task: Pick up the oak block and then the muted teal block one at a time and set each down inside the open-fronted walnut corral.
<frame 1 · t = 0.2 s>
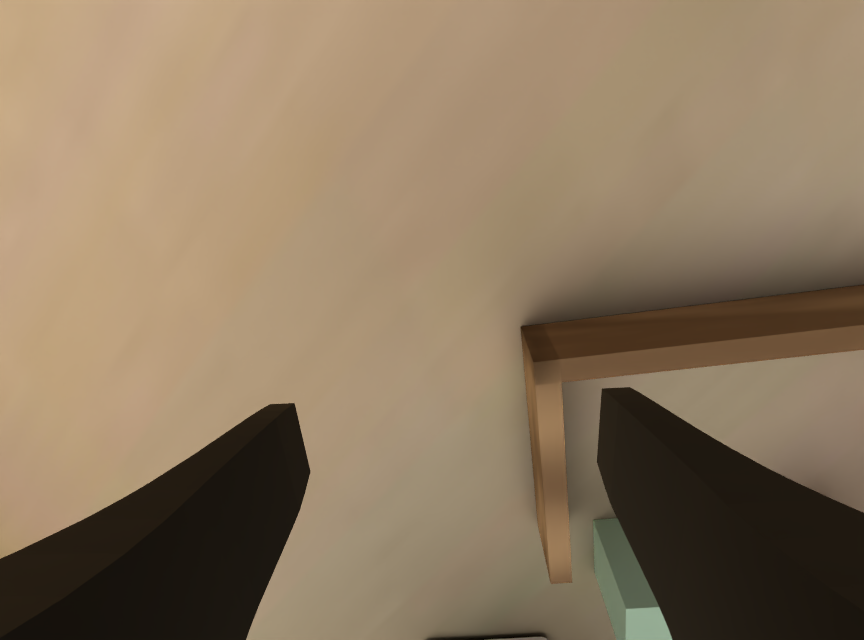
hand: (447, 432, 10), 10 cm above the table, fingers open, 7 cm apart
teal block: (630, 543, 25), on the table
corral: (729, 416, 21), on the table
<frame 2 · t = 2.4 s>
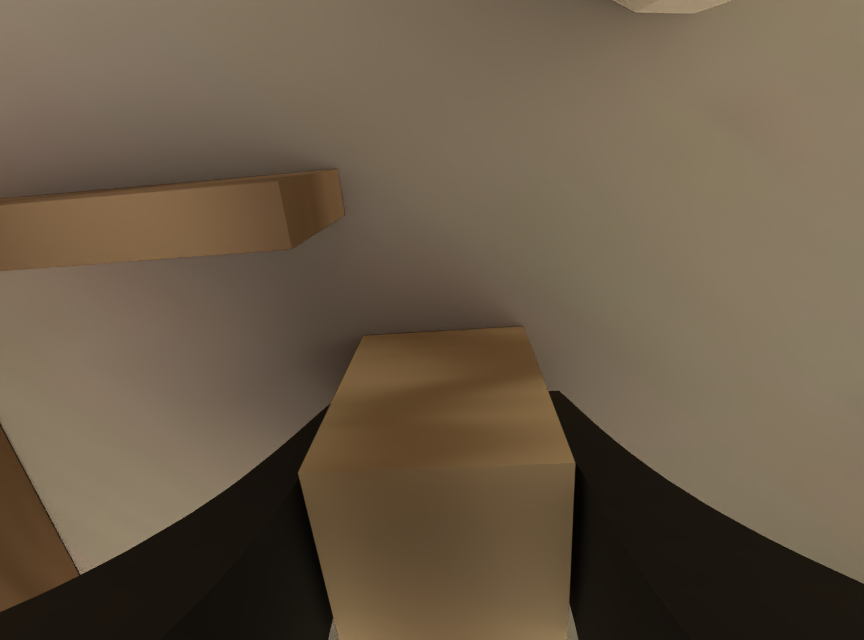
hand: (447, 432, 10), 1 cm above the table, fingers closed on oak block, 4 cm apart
corral: (197, 509, 14), on the table
oak block: (447, 399, 12), on the table, touching gripper
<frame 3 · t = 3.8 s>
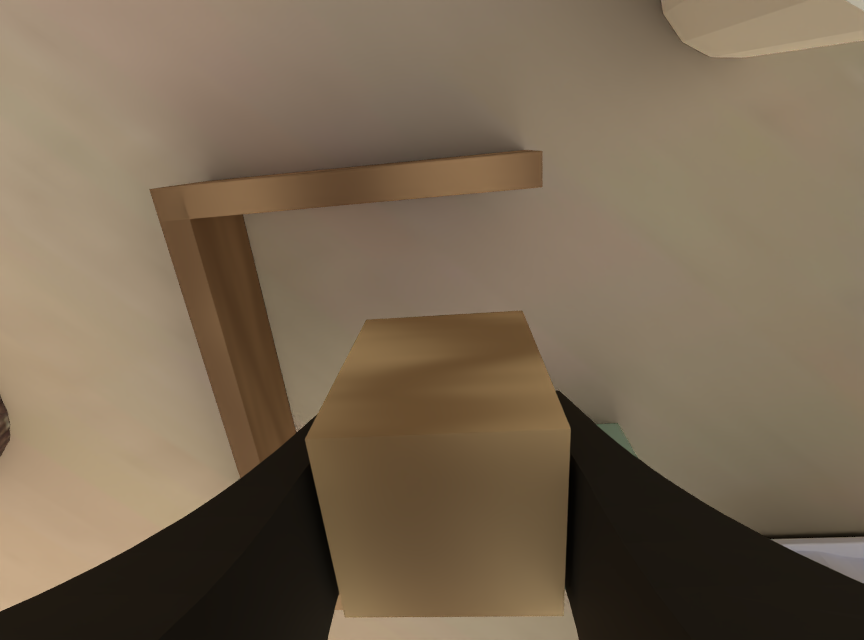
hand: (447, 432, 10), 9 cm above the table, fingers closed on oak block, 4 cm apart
teal block: (571, 460, 21), on the table
corral: (393, 387, 20), on the table
oak block: (448, 383, 12), point 7 cm above the table, touching gripper
when the fingers open (4 cm above the table, at t = 5.2 s): oak block drops 2 cm, on the table.
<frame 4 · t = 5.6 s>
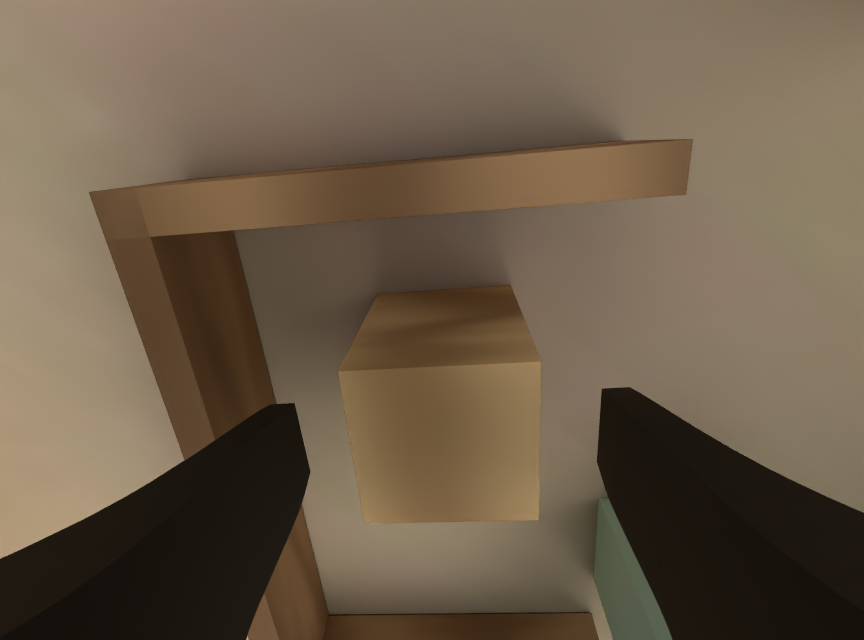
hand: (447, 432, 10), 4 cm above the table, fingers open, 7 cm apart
teal block: (650, 537, 16), on the table
corral: (427, 448, 15), on the table
oak block: (448, 348, 14), on the table
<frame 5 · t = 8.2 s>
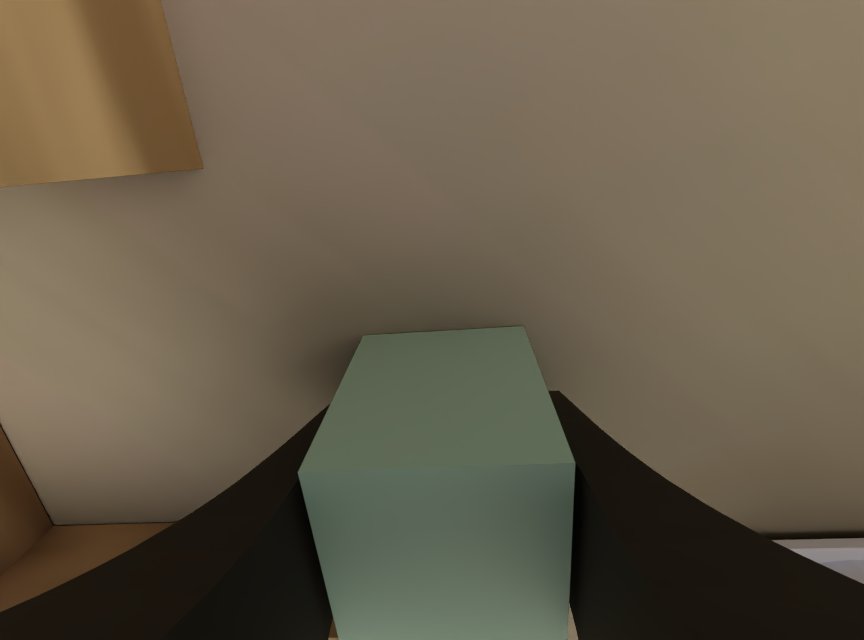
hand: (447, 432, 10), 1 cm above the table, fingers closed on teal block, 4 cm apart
teal block: (447, 399, 12), on the table, touching gripper
corral: (104, 255, 11), on the table
oak block: (87, 75, 9), on the table
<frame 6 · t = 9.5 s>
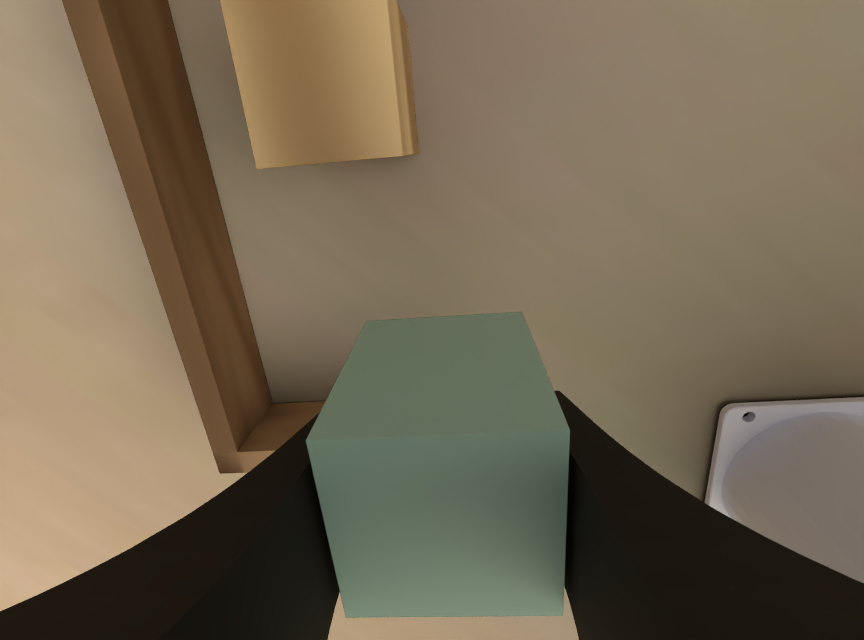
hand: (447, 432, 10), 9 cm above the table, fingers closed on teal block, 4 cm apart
teal block: (448, 384, 12), point 7 cm above the table, touching gripper
corral: (347, 209, 17), on the table
oak block: (357, 98, 16), on the table
when the fingers open (4 cm above the table, at t = 10.9 s): teal block drops 2 cm, on the table.
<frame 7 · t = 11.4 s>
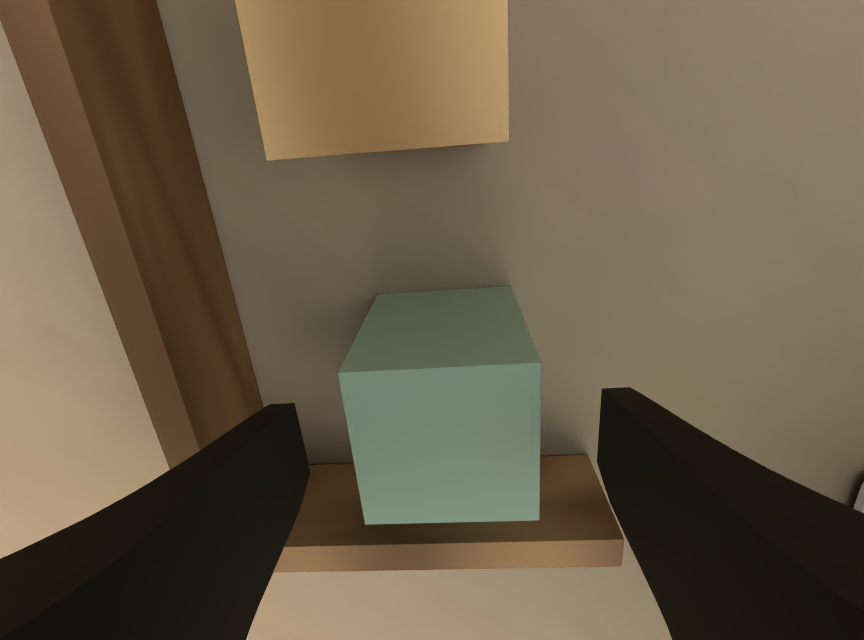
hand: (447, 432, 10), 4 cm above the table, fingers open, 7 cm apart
teal block: (447, 349, 14), on the table
corral: (385, 218, 12), on the table
oak block: (405, 64, 11), on the table
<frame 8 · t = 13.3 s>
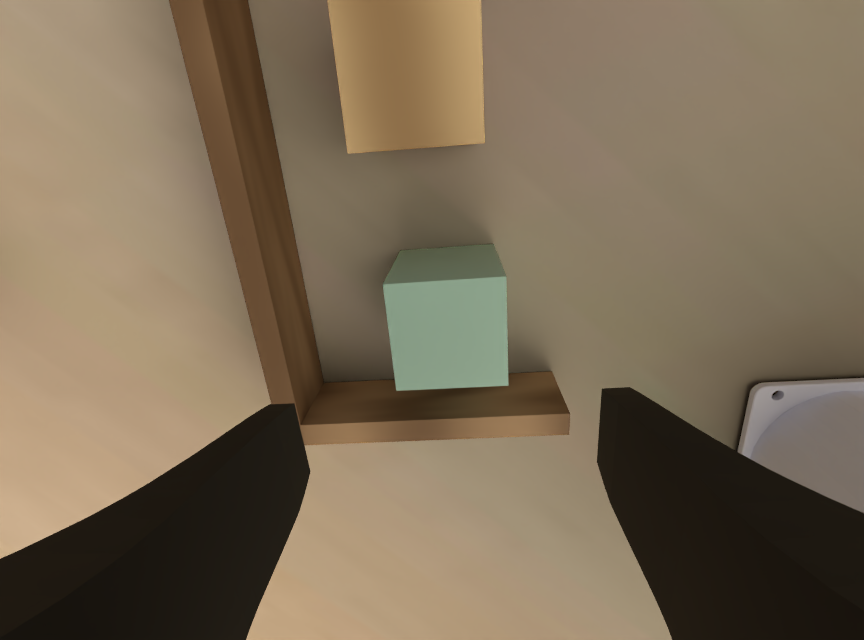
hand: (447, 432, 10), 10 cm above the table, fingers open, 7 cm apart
teal block: (449, 291, 20), on the table
corral: (406, 195, 18), on the table
oak block: (422, 91, 17), on the table
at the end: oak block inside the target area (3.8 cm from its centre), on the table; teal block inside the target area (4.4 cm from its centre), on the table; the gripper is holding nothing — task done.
